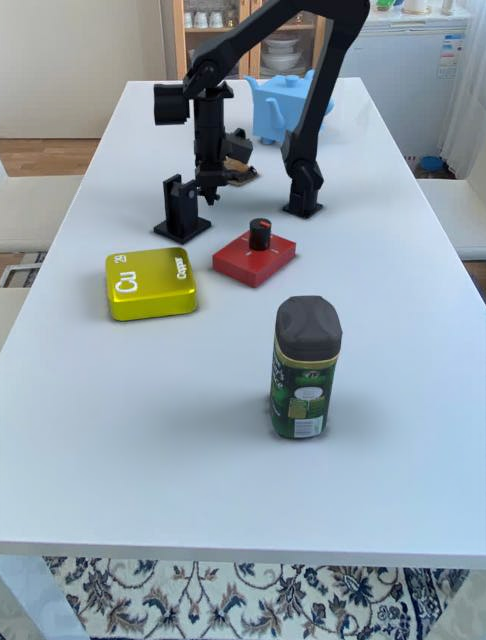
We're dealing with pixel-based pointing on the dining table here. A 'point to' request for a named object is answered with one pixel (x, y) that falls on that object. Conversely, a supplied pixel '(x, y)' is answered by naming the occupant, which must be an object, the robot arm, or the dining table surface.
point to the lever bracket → (181, 212)
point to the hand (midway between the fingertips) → (210, 201)
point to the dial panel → (253, 259)
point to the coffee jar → (303, 365)
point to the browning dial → (259, 234)
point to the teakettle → (279, 105)
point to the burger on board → (239, 172)
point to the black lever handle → (177, 184)
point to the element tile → (150, 283)
